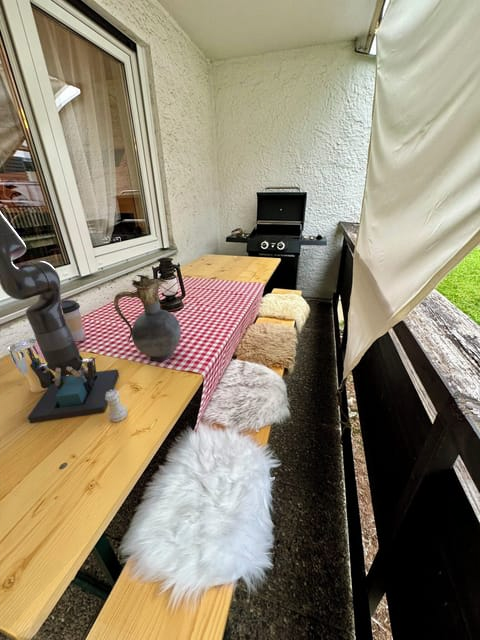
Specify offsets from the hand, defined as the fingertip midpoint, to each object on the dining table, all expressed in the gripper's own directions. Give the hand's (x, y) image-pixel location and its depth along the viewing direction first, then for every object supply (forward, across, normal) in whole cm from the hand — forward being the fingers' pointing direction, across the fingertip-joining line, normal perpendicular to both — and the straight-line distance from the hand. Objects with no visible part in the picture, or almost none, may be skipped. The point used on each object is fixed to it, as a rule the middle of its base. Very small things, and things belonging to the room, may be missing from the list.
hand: (77, 391), depth 74 cm
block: (+1, 0, 0) cm, 1 cm away
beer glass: (+2, +13, -7) cm, 15 cm away
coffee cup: (+2, +13, -35) cm, 37 cm away
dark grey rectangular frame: (+2, 0, 0) cm, 2 cm away
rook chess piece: (+2, -13, +10) cm, 17 cm away
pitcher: (+2, -20, -16) cm, 26 cm away
